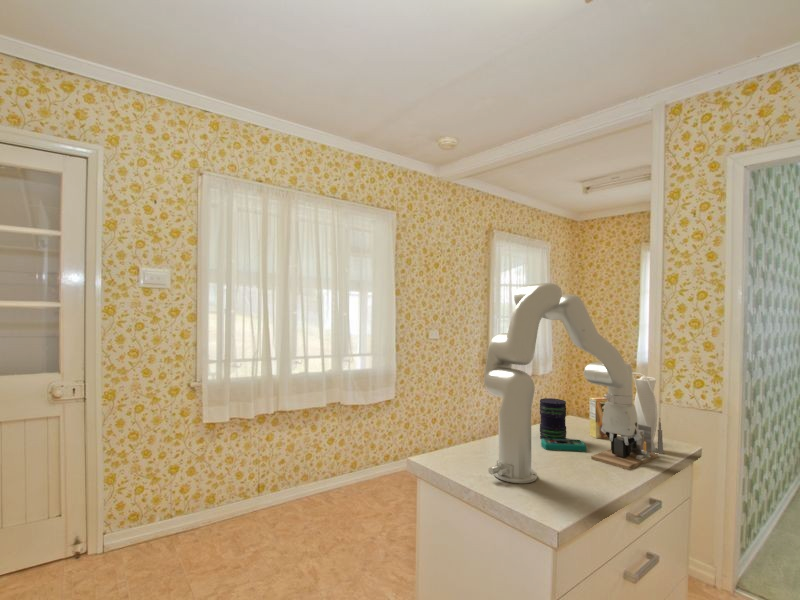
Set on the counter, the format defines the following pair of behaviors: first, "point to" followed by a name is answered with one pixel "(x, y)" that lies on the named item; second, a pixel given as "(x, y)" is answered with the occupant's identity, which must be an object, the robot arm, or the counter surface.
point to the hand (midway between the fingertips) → (620, 454)
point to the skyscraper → (648, 408)
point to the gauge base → (634, 457)
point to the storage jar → (552, 418)
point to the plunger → (619, 446)
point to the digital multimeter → (563, 444)
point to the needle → (644, 449)
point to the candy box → (597, 417)
